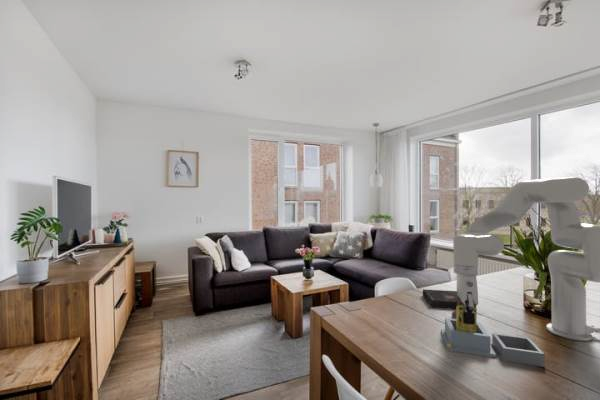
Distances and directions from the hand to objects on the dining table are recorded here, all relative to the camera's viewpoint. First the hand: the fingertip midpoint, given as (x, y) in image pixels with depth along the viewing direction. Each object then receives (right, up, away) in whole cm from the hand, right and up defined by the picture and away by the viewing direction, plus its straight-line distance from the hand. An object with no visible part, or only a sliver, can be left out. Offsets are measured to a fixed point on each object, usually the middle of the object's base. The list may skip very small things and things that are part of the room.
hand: (466, 319), depth 98 cm
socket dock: (0, -9, 0) cm, 9 cm away
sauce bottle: (0, -7, 0) cm, 7 cm away
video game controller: (+10, -9, +18) cm, 23 cm away
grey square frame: (+12, -9, -7) cm, 17 cm away
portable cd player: (+13, -10, +40) cm, 43 cm away
